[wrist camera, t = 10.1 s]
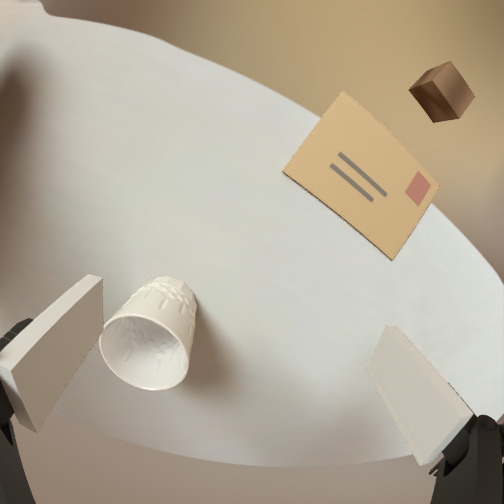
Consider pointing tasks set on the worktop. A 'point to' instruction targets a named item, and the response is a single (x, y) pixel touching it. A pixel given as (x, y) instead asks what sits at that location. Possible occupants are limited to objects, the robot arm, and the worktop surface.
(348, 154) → the envelope
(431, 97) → the walnut block
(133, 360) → the white cup
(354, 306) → the worktop surface
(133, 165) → the worktop surface
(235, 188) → the worktop surface
